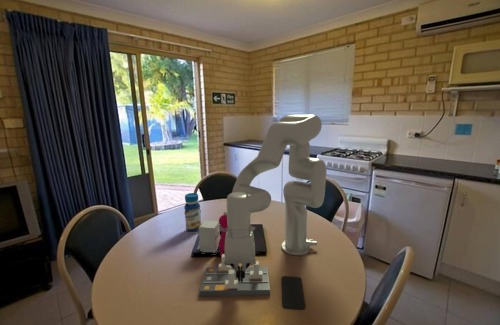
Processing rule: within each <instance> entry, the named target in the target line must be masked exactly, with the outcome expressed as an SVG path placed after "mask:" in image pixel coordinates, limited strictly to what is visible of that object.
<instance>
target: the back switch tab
mask: <svg viewBox="0 0 500 325" xmlns="http://www.w3.org/2000/svg"><path fill="white" fill-rule="evenodd" d="M224 261H225V254H222V257H221V263H219V264H218V268H219V271H229V270H230V269H231V266H228V265H225V264H224Z"/></svg>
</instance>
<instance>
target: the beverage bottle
mask: <svg viewBox="0 0 500 325" xmlns="http://www.w3.org/2000/svg"><path fill="white" fill-rule="evenodd" d="M184 201H185V205H184V207H183V209H184V211H183V212H184V213H183V214H184V215H185V216H184V219H185V232H186V233H188V234H199V227H200V226H201V224H202V218H201V214H202V210H201V204H200V202H199V194H198V193H196V192H189V193H187V194H185V195H184Z"/></svg>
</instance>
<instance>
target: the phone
mask: <svg viewBox="0 0 500 325" xmlns="http://www.w3.org/2000/svg"><path fill="white" fill-rule="evenodd" d="M281 306H282V308H283V309H287V310H300V311H301V310H303V311H304V310H305V309H306V301H305V295H304V287H303V280H302V278H301V277H300V276H291V275H290V276H289V275H288V276H287V275H283V276H282V277H281Z"/></svg>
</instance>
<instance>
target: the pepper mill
mask: <svg viewBox="0 0 500 325" xmlns="http://www.w3.org/2000/svg"><path fill="white" fill-rule="evenodd" d="M218 221H219V229H220V232H221V235H220V241H219V249H218V250H219V256H220V257H221V258H222V254H225V236H226V232H227V231H228V224H227V211H224V212H223V214H222V215H220V216H219V219H218Z"/></svg>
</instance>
